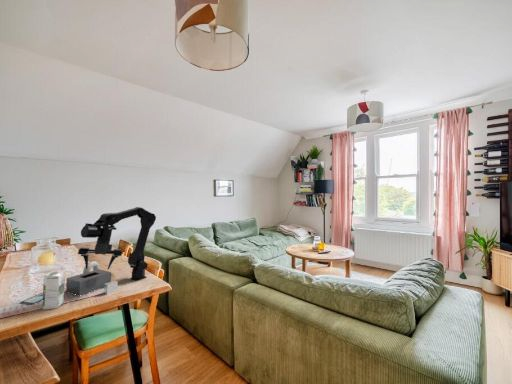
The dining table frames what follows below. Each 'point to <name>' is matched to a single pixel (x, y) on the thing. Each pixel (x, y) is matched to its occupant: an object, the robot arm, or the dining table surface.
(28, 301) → the smartphone
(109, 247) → the robot arm
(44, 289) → the syrup box
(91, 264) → the donut
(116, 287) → the light grey block
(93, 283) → the cash box
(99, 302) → the dining table surface
